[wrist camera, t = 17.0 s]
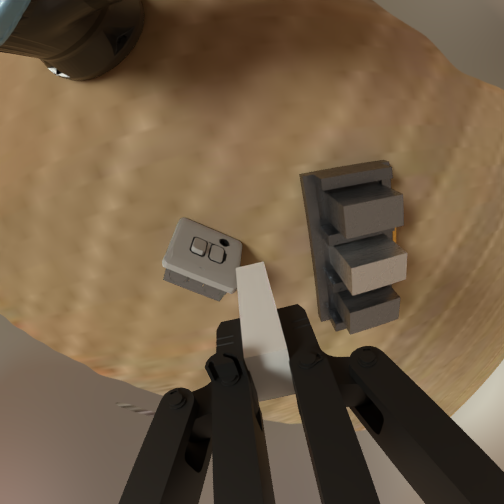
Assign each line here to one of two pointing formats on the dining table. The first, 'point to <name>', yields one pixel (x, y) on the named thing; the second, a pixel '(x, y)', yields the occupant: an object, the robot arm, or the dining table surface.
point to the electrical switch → (202, 260)
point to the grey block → (369, 263)
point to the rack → (350, 237)
